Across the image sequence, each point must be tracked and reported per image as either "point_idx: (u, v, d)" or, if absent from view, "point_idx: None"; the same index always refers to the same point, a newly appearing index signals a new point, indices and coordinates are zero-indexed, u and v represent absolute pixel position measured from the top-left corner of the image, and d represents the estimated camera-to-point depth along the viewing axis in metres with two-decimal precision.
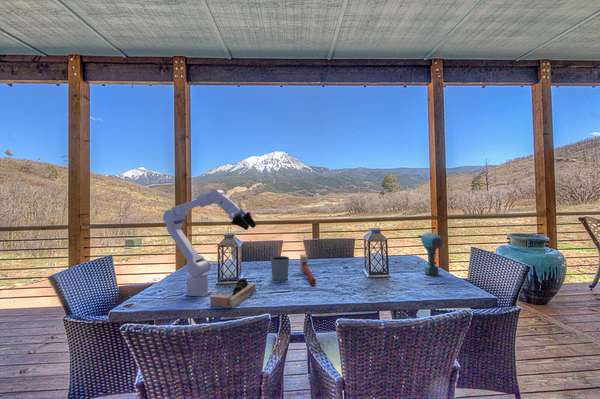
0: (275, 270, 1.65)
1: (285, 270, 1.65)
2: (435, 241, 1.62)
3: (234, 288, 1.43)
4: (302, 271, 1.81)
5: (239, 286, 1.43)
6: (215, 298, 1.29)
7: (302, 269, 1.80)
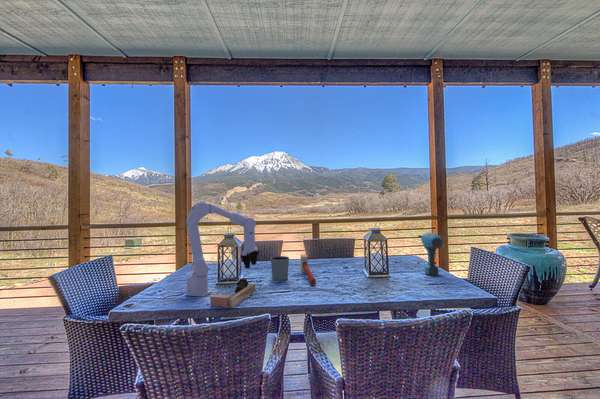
0: (275, 270, 1.65)
1: (285, 270, 1.65)
2: (435, 241, 1.62)
3: (236, 288, 1.43)
4: (302, 271, 1.81)
5: (241, 286, 1.43)
6: (215, 298, 1.29)
7: (302, 269, 1.80)
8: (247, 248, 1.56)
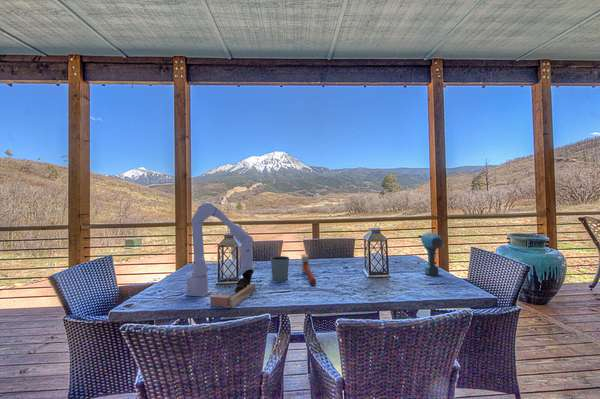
0: (275, 270, 1.65)
1: (285, 270, 1.65)
2: (435, 241, 1.62)
3: (236, 288, 1.43)
4: (303, 271, 1.81)
5: (241, 285, 1.44)
6: (215, 298, 1.29)
7: (303, 269, 1.80)
8: (244, 266, 1.53)
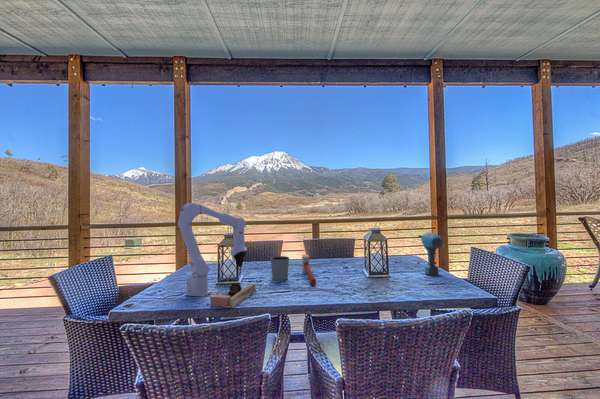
0: (275, 270, 1.65)
1: (285, 270, 1.65)
2: (435, 241, 1.62)
3: (228, 293, 1.35)
4: (304, 271, 1.80)
5: (233, 291, 1.36)
6: (215, 298, 1.29)
7: (304, 269, 1.80)
8: (236, 248, 1.56)
